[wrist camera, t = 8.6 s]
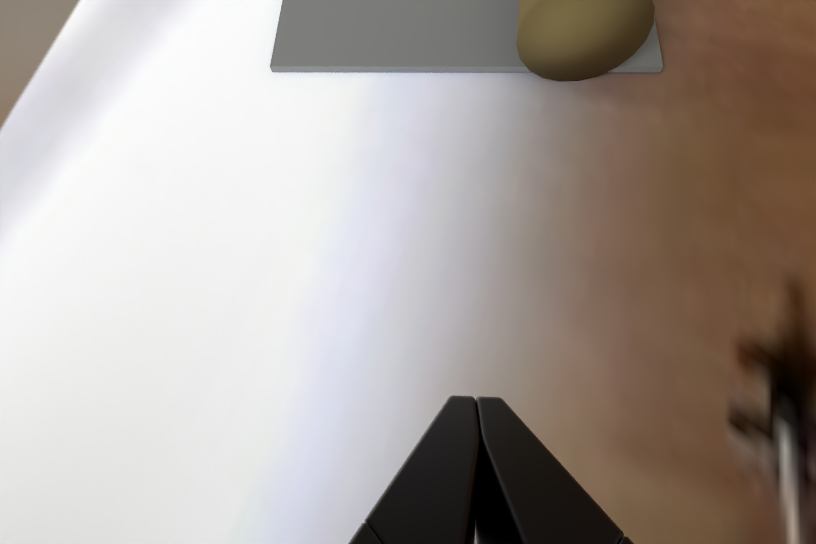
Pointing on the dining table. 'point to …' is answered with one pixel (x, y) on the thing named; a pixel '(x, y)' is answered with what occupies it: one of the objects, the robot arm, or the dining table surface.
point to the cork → (580, 35)
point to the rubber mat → (412, 37)
